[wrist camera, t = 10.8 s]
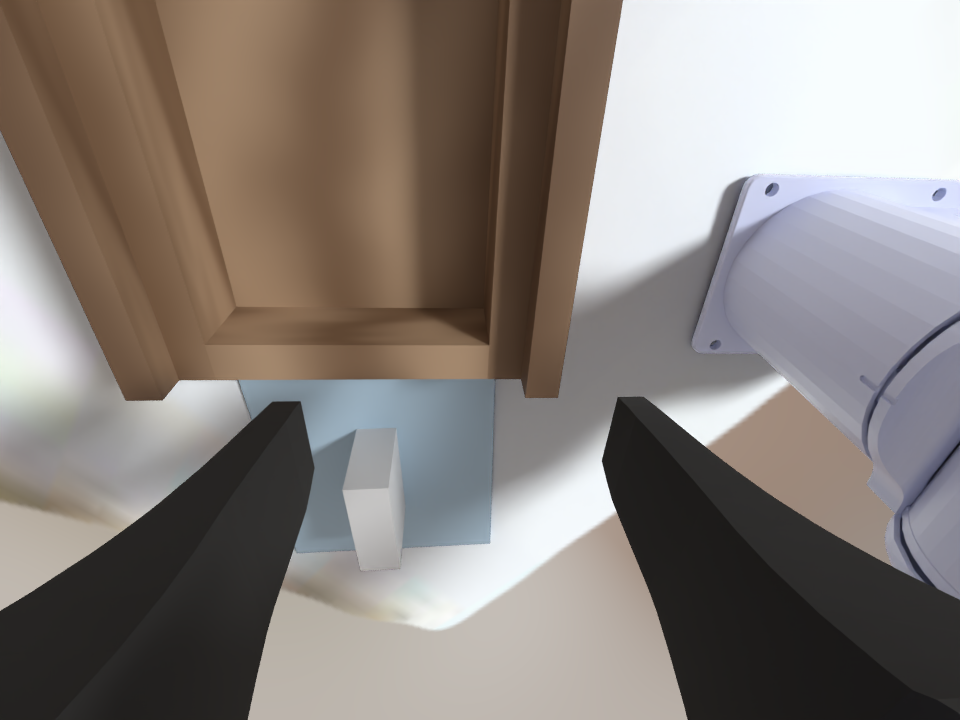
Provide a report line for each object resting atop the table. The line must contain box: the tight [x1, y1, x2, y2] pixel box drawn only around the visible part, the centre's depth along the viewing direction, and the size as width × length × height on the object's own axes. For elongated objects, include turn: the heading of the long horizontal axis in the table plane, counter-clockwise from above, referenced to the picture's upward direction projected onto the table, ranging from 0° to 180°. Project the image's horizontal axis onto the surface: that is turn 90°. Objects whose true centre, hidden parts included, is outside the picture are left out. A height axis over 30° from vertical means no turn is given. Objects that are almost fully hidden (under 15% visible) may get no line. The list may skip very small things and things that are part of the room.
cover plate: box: [239, 379, 495, 571], centre depth 24 cm, size 12×14×5 cm
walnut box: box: [0, 0, 623, 401], centre depth 14 cm, size 15×16×5 cm
